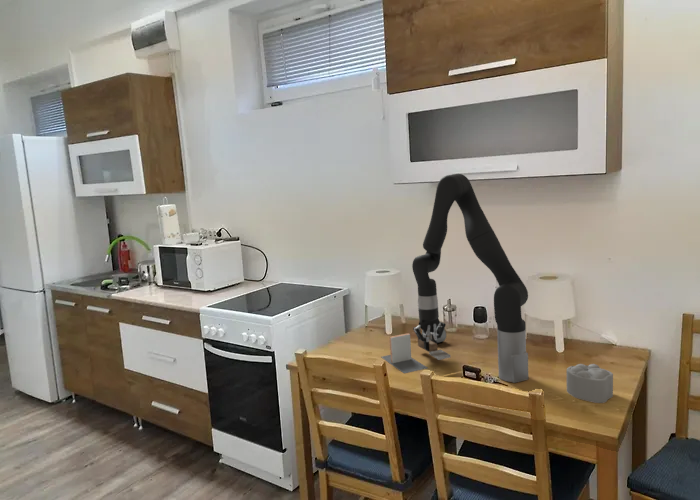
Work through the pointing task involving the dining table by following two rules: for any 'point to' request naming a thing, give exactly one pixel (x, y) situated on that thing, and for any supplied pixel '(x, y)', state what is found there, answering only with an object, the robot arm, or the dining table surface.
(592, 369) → the lumpy-topped squat cylinder
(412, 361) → the mat
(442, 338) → the ceramic mug
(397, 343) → the tile
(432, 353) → the turner
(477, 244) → the robot arm
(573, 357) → the dining table surface
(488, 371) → the dining table surface
